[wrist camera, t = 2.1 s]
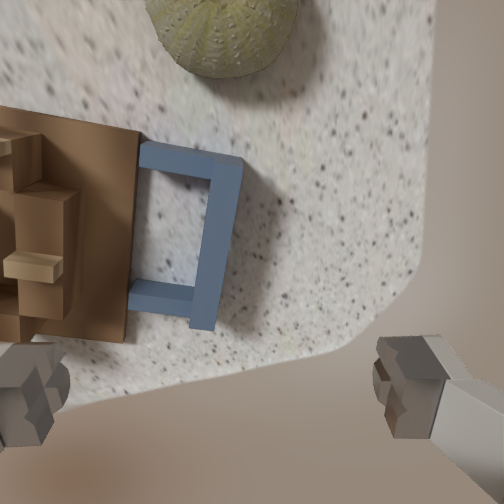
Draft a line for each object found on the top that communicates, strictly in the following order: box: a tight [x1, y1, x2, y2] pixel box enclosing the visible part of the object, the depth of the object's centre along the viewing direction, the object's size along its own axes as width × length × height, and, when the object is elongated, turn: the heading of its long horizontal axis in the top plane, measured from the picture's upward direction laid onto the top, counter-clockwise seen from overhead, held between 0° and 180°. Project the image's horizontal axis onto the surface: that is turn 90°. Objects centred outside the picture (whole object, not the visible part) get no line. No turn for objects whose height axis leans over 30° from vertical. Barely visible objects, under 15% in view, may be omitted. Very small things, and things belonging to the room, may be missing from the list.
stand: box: [0, 106, 141, 344], centre depth 27 cm, size 15×18×7 cm
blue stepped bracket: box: [128, 140, 244, 331], centre depth 29 cm, size 7×13×4 cm, turn 169°
